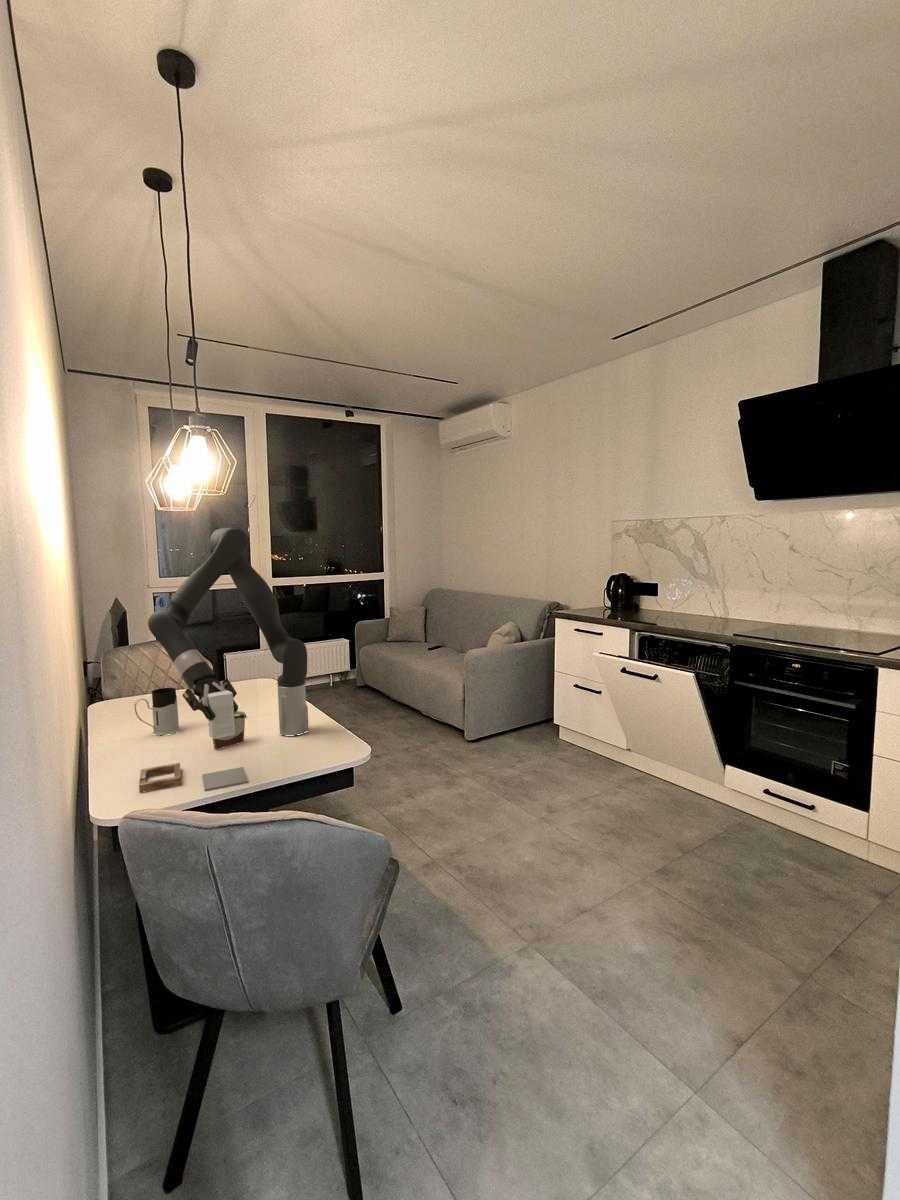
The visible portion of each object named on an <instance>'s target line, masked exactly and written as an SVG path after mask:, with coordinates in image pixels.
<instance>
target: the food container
mask: <svg viewBox="0 0 900 1200" xmlns="http://www.w3.org/2000/svg"><path fill="white" fill-rule="evenodd" d="M247 718H248V717H247V714H246V712H244V711H241V710H240V711H239V710H237V711H236V713H234V725H235V735H231V736H226V737H222V738H217V739H212V743H213V749H214V750H215V751H216V750H220V748H221V749H224V748H223V747H225V748H227V747H231V745H232V746H235V745H234V744H236V745H238V744H237V743H240V744H242V743H241V742H243V743H245V725H246V719H247ZM207 726H208V727H209V724H208V723H207Z"/></svg>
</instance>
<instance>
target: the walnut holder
mask: <svg viewBox="0 0 900 1200" xmlns="http://www.w3.org/2000/svg"><path fill="white" fill-rule="evenodd" d="M172 773H174V776H172V777H167V778H162V779H157V780H150V781H149V780H148V778H149V777H148V776H150V777H156V776H160V775H165V774H172ZM155 775H156V776H155ZM181 785H182V778H181V763H180V762H176V763H172V764H171V763H170V764H164V765H159V766H154V767H153V766H152V767H147V768H142V769H140V774H139V783H138V788H139V789H138V790H139V793H140V792H141V793H144V792H143V791H146V792H150V791H149V790H151V791H155V790H161V789H167V788H173V787H177V786H181Z"/></svg>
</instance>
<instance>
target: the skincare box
mask: <svg viewBox="0 0 900 1200" xmlns="http://www.w3.org/2000/svg"><path fill="white" fill-rule="evenodd" d="M233 699H234V698H233V693H232V692H230V691H228V690H227V691H222V692H215V693H209V694H208V700H207V706H210V708H211V709H212V711H213V712H214V714H215V718H214V719H213V720H212V721H209V719H207V725H208V724H209V726H208V735H209V737H210V738H211V739H212V740H213V739H217V738H222V737H226V736H231V735H235V725H234V705H233Z"/></svg>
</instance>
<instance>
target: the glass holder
mask: <svg viewBox="0 0 900 1200" xmlns="http://www.w3.org/2000/svg"><path fill="white" fill-rule="evenodd" d="M151 698H152V699H151V700H152V701H151V702H152V706H151V707H150V704H149V701H148V700H147V699H146V698H139V699H137V700H136V701H135V702H134V712H135V715H136V718H137V719H138V720H139V721H140V722H142V723H144V724H146V725H148V726H150V727H152V728H153V732H152V735H153V734H156V735H167V734H172V733H175V734H177V733H176V732H178V731H179V730H180V731H181V727H180V725H179V709H178V708H179V707H178V696H177V690H176V688H175V687H162V688H157V689H154V690H152V691H151ZM142 700H143V701H145V702H146V706H147V709H149V710H151V711H152V721H153V725H152V724H150V723H148V722H146V721H144V720H143V719H142V718H141V717H140V716H139V714H138V711H137V704H138V702H140V701H142ZM180 731H179V732H180ZM179 732H178V733H179ZM172 735H173V734H172ZM167 736H168V735H167Z"/></svg>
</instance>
